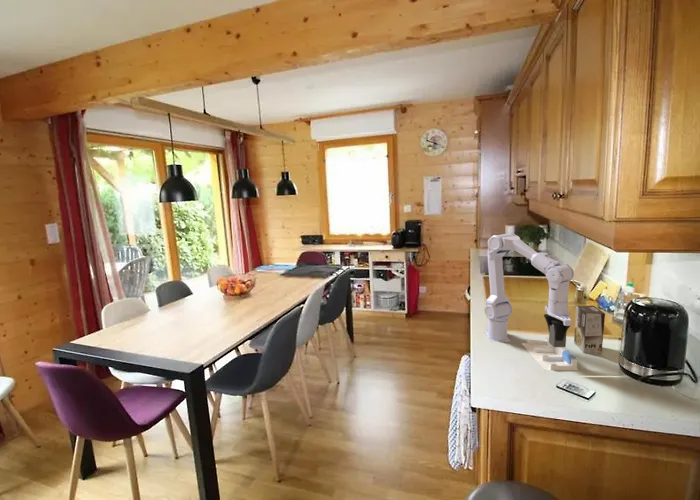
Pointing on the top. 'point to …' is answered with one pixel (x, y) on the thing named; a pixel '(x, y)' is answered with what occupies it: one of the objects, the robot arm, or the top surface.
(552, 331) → the plug
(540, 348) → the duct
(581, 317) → the coffee box
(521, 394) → the top surface
